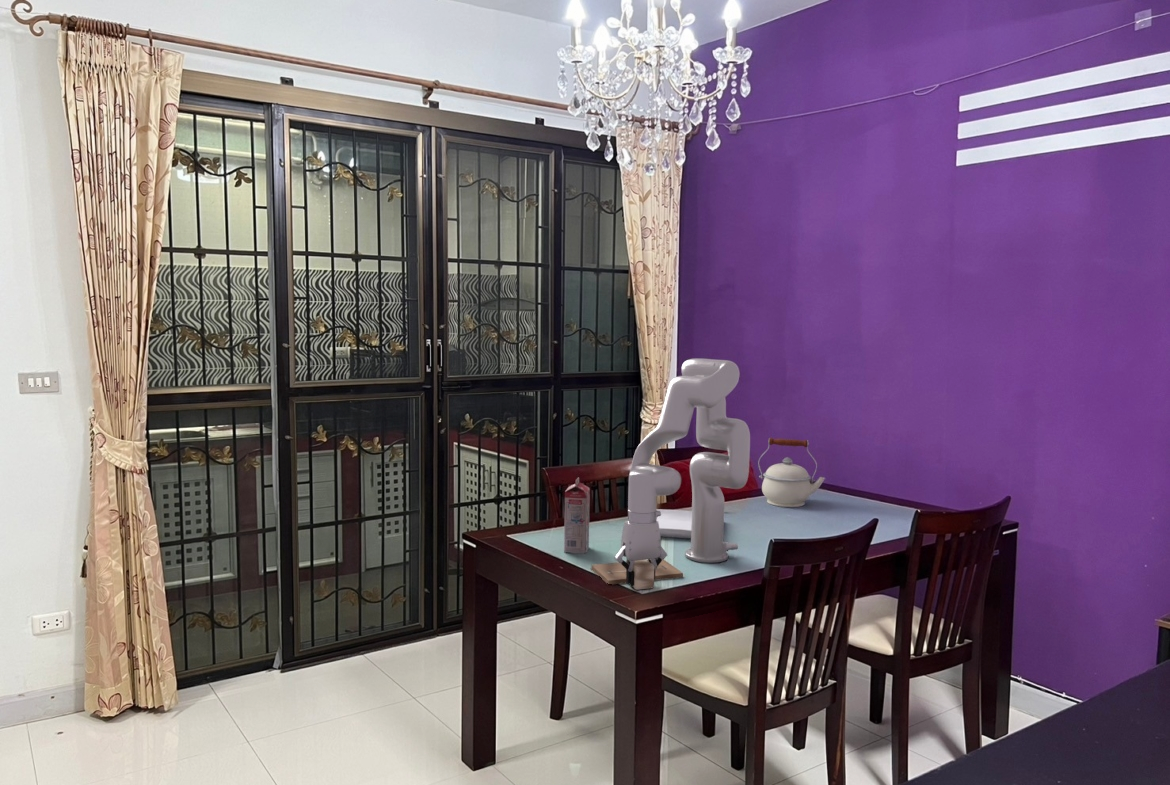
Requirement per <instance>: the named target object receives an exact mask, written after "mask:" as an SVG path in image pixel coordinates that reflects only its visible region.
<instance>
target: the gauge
mask: <svg viewBox="0 0 1170 785" xmlns="http://www.w3.org/2000/svg"><path fill="white" fill-rule="evenodd" d="M647 560H648V559H646V560H635V563H634V567H633V571H634V586H632V587H633V588H634V589H635V590H636V591H637V590H644V589H645V590H646V589H653V588H654V587H655V580H654V565H653V564H651V563H650V562H649V561H647Z"/></svg>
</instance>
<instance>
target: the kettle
mask: <svg viewBox="0 0 1170 785" xmlns="http://www.w3.org/2000/svg"><path fill="white" fill-rule="evenodd" d="M767 442H768V446H767V449H766V450H765V451H764V452H763V453H762V454H761V455H760V457H759V458H758V461H757V464H758V469H759V472H760V474H761V475H759V476H758V477H759V478H760V479H761V481H762V480H763V481H762V483H761V484H762V485H761V491H762V494H763V495H764V497H766V502H767V503H768V504H769V505H772V506H775V507H781V508H799V507H802V506H804V505H805V504H806V501H807V500H808V499H809V498H810V496H811V495H813V494H814V493H815V492H816V491H818V489H819V488H820V487H821V485H822V484H823V482H824V481H825V480H826V477H824V476H819V477H818V478H817V480H815V479H814V477H815V475H816V472H817V468H818V463H817V460H816V459H815V457H814V455H812V454H811V452H810V451H809V445H810V443H809V440H808V439H807V440H806V439H804V440H799V439H791V438H788V439H787V438H786V439H785V438H772V437H769V438H768V441H767ZM773 445H777V446H785V447H804V448H806V451H807V453H808V455H810V457H811V458H812V459H813V461H814V463H815V470H814V473H813V474H812V477H811V475H810V474H809V473H808V470H806V468H805V467H803V466H800V465H798V464H796V463H795V464H794V463H793V460H792V458H790V457H788V456H787V457H784V459H782V460H781V461H782V462H781V463H775V464H773V465H770V466H769V467H768V468H767V469H766V471H765V472H763V471H762V470H761V465H760V461H761V458H762V457H763V456H764V455H765V454H766V453H767V452H768V451H769V448H770V446H773Z"/></svg>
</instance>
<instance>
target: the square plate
mask: <svg viewBox="0 0 1170 785" xmlns="http://www.w3.org/2000/svg"><path fill="white" fill-rule="evenodd" d="M656 510H657V511H660V512H661V516H658V517H657V521H658V523H659V529H660V537H667V538H678V539H679V538H682V539H691V524H692V510H683V509H682V510H681V509H661V508H660V509H658V508H656Z"/></svg>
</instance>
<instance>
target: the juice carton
mask: <svg viewBox="0 0 1170 785" xmlns="http://www.w3.org/2000/svg"><path fill="white" fill-rule="evenodd" d="M590 490H591V489H590V487H589V486H587V485H585V484H584V483H582V482H581V481H580V476H578V477H577V478H576V479H575V483H574V484H571V485H570V486H568V487H567V488H566V490H565V491H564V533H563V534H564V535H563V536H564V538H563V540H564V541H563V542H564V543H563V553H566V552H572V553H571V554H584V553H586V554H587V552H588V550H589V548H590V501H591V500H590V496H591V495H590V494H591V493H590V492H591V491H590Z"/></svg>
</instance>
